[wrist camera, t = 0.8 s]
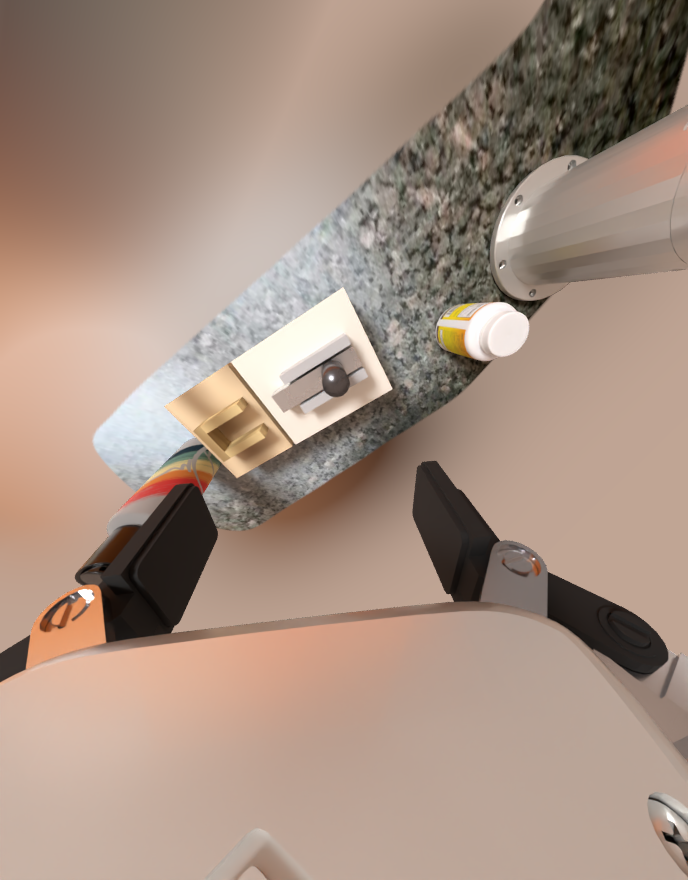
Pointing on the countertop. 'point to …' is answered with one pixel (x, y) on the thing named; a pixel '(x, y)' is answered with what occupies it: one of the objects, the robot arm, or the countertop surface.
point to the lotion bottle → (149, 504)
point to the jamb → (231, 421)
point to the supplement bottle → (482, 330)
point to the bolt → (319, 380)
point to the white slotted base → (302, 351)
